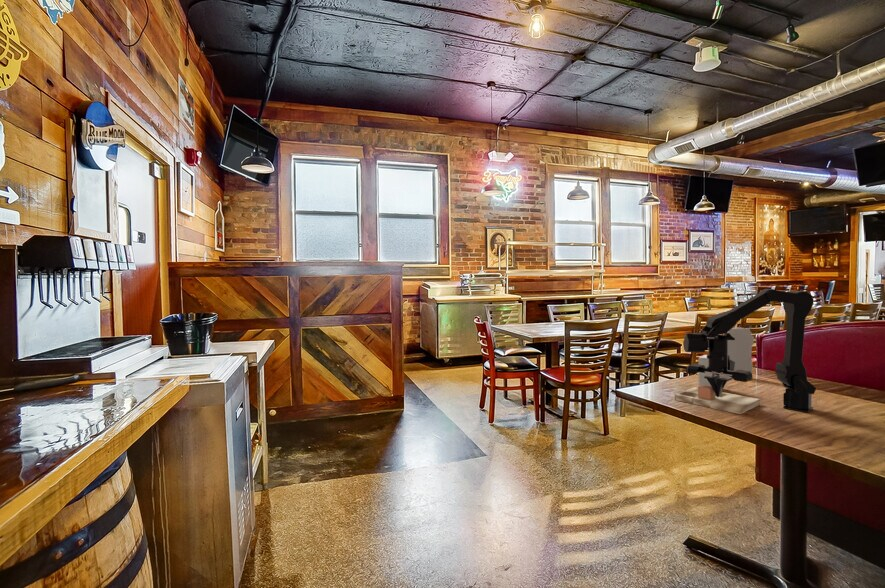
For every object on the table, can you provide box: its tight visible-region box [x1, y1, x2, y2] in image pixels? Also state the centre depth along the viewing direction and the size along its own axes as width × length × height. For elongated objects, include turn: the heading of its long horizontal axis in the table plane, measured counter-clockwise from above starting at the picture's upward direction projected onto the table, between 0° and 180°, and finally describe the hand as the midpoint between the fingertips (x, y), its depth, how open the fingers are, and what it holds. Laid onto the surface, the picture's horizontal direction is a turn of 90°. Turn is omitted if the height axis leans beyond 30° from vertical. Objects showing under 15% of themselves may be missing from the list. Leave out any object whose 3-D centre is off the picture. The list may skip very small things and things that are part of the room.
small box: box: [697, 354, 721, 387], centre depth 170 cm, size 8×6×13 cm
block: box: [697, 385, 715, 400], centre depth 153 cm, size 4×4×4 cm
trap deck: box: [674, 386, 761, 415], centre depth 154 cm, size 21×16×2 cm
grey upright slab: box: [727, 327, 755, 374], centre depth 187 cm, size 11×4×22 cm, turn 61°
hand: (718, 396), depth 150 cm, fingers closed
